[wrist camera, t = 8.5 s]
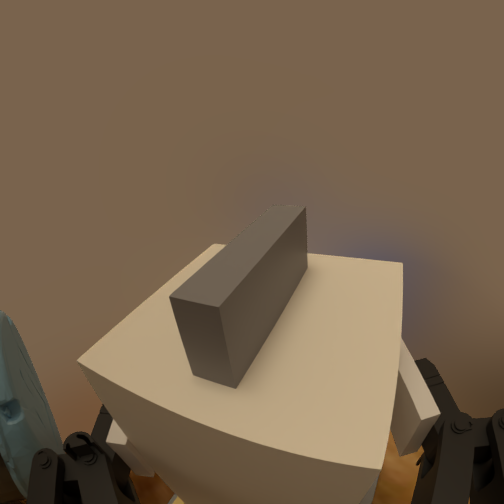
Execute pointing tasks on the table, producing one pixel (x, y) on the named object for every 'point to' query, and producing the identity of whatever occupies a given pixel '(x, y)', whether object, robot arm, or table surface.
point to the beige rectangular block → (259, 370)
